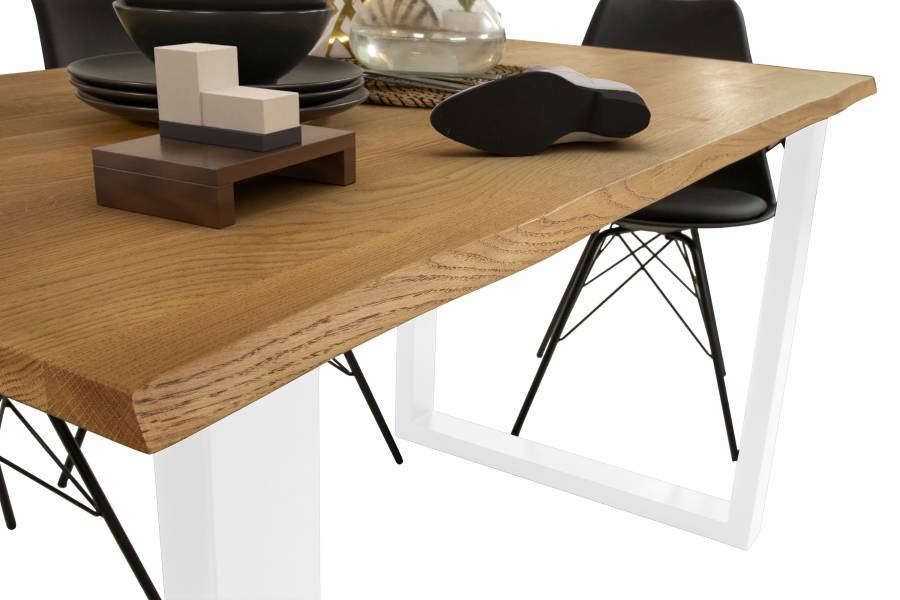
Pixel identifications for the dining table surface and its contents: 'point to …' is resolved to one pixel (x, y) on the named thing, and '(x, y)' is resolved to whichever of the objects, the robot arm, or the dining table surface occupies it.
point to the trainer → (220, 101)
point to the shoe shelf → (210, 172)
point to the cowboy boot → (540, 112)
